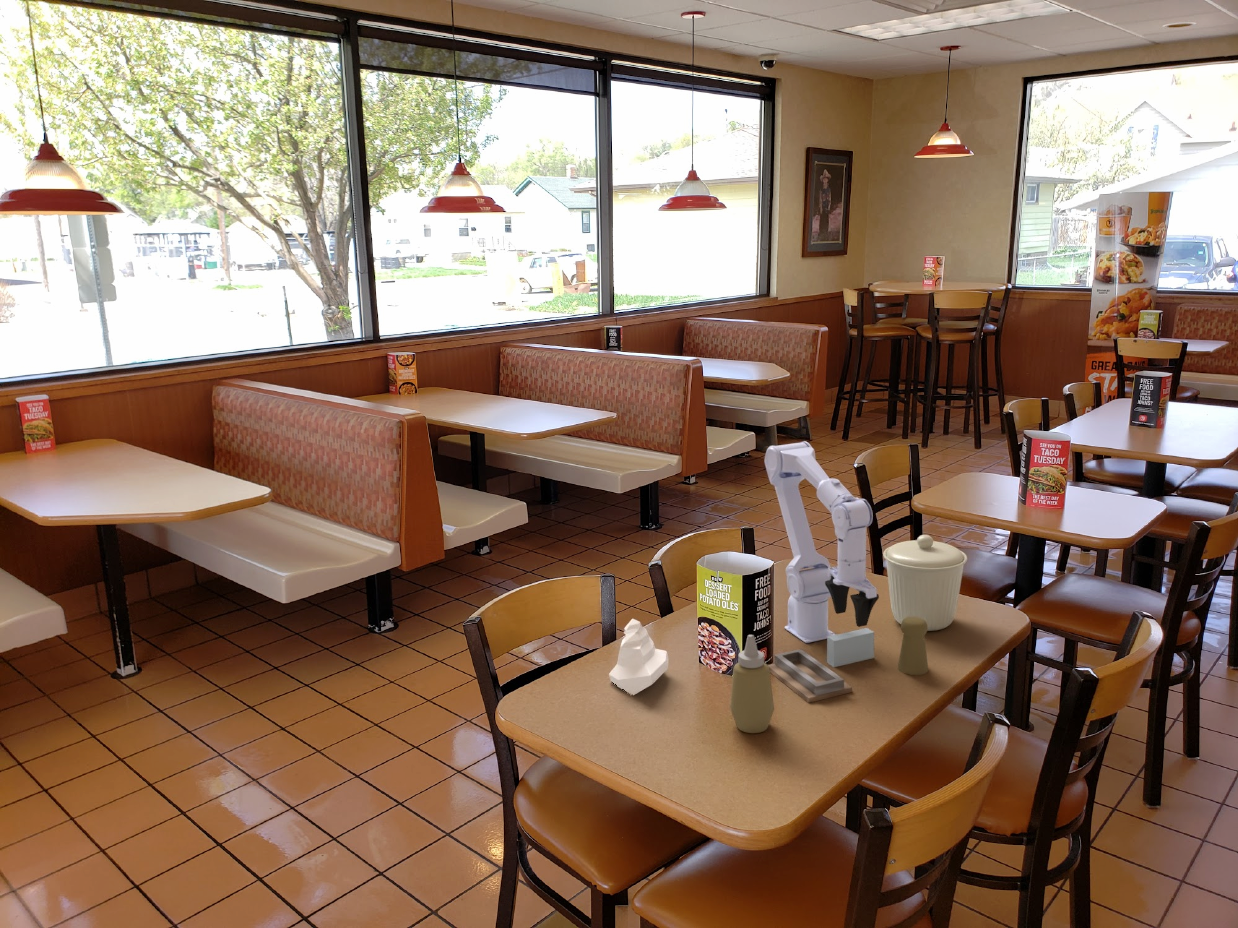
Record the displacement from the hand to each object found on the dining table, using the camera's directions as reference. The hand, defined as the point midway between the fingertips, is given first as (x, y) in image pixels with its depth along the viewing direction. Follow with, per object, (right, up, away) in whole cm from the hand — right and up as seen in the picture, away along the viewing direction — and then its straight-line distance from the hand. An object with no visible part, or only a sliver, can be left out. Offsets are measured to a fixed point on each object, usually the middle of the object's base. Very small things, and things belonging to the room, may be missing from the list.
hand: (850, 618), depth 192 cm
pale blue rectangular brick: (0, -9, +2) cm, 10 cm away
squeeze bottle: (-24, -16, -22) cm, 37 cm away
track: (-10, -12, -6) cm, 16 cm away
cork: (+12, -10, -3) cm, 16 cm away
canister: (+22, -4, +19) cm, 29 cm away
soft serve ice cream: (-44, -13, -3) cm, 46 cm away
